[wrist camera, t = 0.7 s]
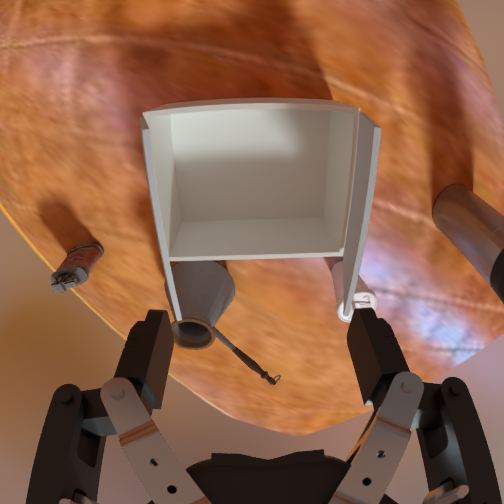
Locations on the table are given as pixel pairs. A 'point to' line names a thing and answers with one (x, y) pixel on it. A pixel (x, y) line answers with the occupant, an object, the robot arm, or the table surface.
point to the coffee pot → (204, 307)
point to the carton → (254, 176)
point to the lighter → (76, 266)
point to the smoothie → (361, 296)
